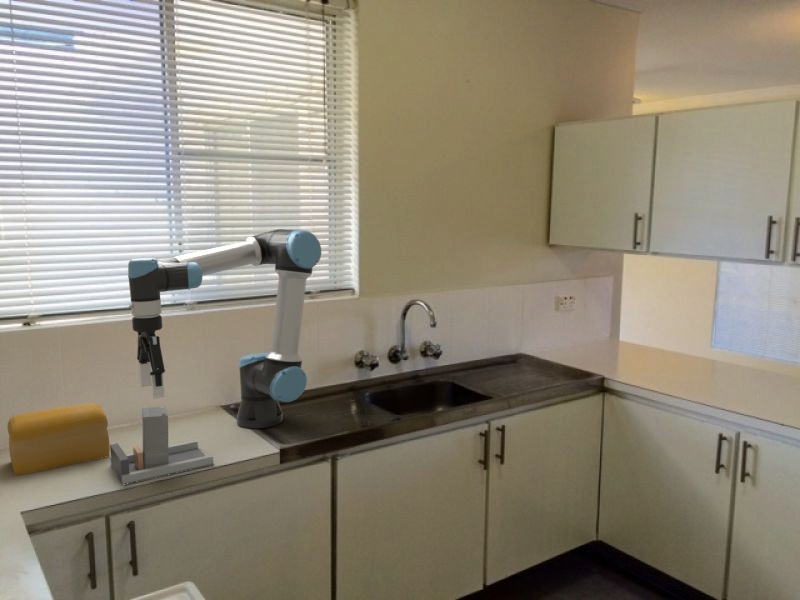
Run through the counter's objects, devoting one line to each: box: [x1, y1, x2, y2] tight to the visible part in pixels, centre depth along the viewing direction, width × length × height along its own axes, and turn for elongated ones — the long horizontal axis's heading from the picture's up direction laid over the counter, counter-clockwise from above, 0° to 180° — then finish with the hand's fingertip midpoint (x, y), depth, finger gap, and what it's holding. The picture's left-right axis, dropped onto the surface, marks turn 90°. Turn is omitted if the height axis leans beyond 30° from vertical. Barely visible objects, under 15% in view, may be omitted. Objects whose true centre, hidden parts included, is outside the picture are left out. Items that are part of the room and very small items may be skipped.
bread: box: [7, 402, 111, 476], centre depth 192 cm, size 24×13×15 cm, turn 125°
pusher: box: [132, 445, 144, 471], centre depth 183 cm, size 1×6×5 cm, turn 34°
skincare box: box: [141, 406, 169, 469], centre depth 185 cm, size 8×7×16 cm
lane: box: [109, 439, 215, 485], centre depth 187 cm, size 24×16×6 cm, turn 124°
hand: (152, 391), depth 183 cm, fingers open, 13 cm apart
